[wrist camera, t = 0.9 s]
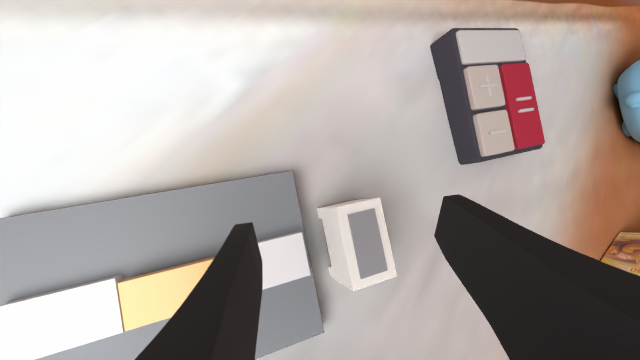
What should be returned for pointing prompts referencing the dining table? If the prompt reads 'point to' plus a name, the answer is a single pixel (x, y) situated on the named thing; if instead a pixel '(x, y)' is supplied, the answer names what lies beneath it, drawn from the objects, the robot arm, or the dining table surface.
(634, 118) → the decorative pot
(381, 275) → the block
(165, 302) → the block
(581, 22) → the dining table surface
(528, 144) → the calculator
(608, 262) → the candy box
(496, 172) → the dining table surface
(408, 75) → the dining table surface
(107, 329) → the rail board
